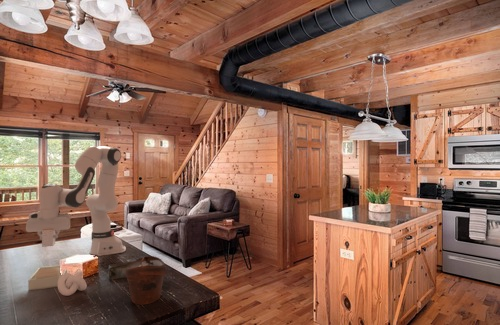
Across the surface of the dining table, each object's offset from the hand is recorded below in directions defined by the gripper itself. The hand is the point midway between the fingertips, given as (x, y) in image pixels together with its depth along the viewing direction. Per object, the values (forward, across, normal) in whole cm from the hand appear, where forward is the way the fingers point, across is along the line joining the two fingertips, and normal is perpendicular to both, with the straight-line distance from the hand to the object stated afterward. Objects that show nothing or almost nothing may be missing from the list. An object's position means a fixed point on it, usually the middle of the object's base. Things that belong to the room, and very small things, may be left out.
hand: (48, 238), depth 162 cm
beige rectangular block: (+19, -4, +16) cm, 25 cm away
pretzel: (+20, -17, +28) cm, 38 cm away
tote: (+19, -4, +12) cm, 23 cm away
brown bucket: (+20, -49, +47) cm, 71 cm away
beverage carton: (+20, -40, +15) cm, 48 cm away
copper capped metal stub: (+4, 0, 0) cm, 4 cm away
